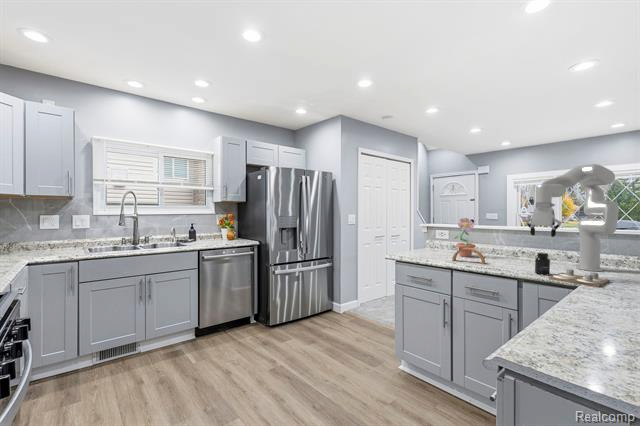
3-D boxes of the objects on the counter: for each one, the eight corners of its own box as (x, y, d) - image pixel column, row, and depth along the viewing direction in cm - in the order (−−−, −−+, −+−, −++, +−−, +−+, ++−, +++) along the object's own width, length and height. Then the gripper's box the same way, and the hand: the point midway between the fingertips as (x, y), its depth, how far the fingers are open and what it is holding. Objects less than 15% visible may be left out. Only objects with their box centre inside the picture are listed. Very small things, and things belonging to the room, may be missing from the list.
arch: (483, 264, 202) (483, 249, 202) (452, 261, 214) (452, 247, 214) (485, 263, 206) (485, 248, 206) (454, 260, 219) (454, 246, 219)
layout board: (562, 274, 171) (562, 267, 171) (610, 281, 154) (610, 273, 154) (548, 279, 160) (549, 271, 160) (598, 287, 144) (599, 278, 144)
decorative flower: (455, 257, 231) (455, 218, 231) (453, 254, 244) (453, 217, 244) (477, 258, 227) (477, 218, 226) (473, 255, 240) (473, 217, 239)
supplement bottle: (543, 275, 168) (543, 254, 168) (531, 273, 175) (532, 252, 175) (552, 275, 170) (553, 253, 170) (541, 272, 177) (541, 252, 176)
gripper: (564, 206, 167) (563, 236, 167) (528, 206, 181) (528, 234, 181) (559, 205, 162) (558, 237, 163) (523, 205, 177) (522, 235, 177)
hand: (542, 235), depth 172 cm, fingers open, 9 cm apart
